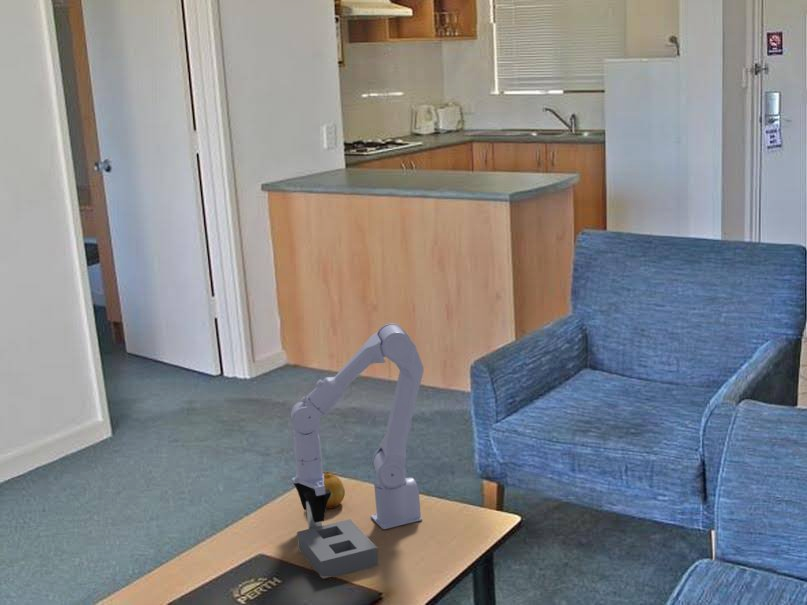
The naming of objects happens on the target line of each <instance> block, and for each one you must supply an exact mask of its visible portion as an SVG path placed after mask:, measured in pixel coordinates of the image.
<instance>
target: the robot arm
mask: <svg viewBox="0 0 807 605" xmlns="http://www.w3.org/2000/svg"><path fill="white" fill-rule="evenodd" d="M417 349H418V348H417V345H416V344H415V343H414V342H413V341H412V340H411V337H410V336H409V334H408V333H407V332H406V331H405V330H404V329H403V328H402V326H400V325H398V324H397V323H386V324H383V326H381V327H380V328H379V329H378V331H377V332H375V333H373V334H372V335H371V336H370V337H369V338H368V339H367V341H365V342H364V344H362V346H361V347H360V348H359V349H358V350H357V351H356V353H355V354H353V356H352V357H351V358H350V359H349V360H348V361H347V363H346V364H344V366H342V368H341V369H340V370H339V371H338V372H337V374H335V376H328V377H325V378H323V379H318V380H317V382H316V386H315V387H314V388H313V389H312V390H311V391H310V392H309V393H308V394H307V395H306V397H305V396H302V397H301V398H300V401H299V402H296V403H295V404H294V405H293V406H292V408H291V411H290V414H289V417H290V419H291V424H292V426H293V430H292V434H293V439H292V440H293V449H294V460H295V469H296V470H295V471H296V472H295V473H296V475H295V476H294V477H292V478H291V482H292V484H293V485H294V487H295V489H296V491H297V493H298V497H299V501H300V503H301V506H302V509H303V511H307V508H306V501H308V503H309V505H310V509H311V513H312V517H313V520H314V522H315V523H316V522H321V521H322V522H324V521H325V516H326V509H327V508H326V505H327V502H328V499H329V497H330V495H331V491H330V490H329V489H327V490H325V486H324V473H323V472H324V469H323V460H322V459H323V458H322V450H321V449H322V448H321V447H322V446H321V437H320V434H319V426H320V423H321V418H323V417H325V416H326V415H327V414H328V413H329V412H330V411H331V410H332V409H333V408H334V407H335V406H336V405H337V404H338V403H339V402H340V401H341V400H342V399H344V397H345V389H346V387H348V386H349V385H350V384H351V383H352V382H353V381H354V380H355V379H356V378H357V377H358V376H360V375H361V373H363V372H364V371H365V370H366V369H368V368H369V367H370V366H371V365H372V364H384V363H387V362H386V360H385V358H387V359H388V360H389V361H390V362H392V363H394V364H395V365H396V367H397V368H398V370H399V374H398V377H397V381H396V382H397V383H396V387H395V390H394V393H393V400H392V404H391V408H390V412H389V416H388V420H387V425H386V429H385V432H384V437H383V438H382V440H381V441H380V444H379V447H378V449H377V450H376V451H375V453H374V455H373V456H372V459H371V460H372V466H373V468H374V470H375V472H376V476H375V479H374V480H373V485H374V496H375V497H374V498H375V510H376V513H373V514H370V518H371V519H372V520H373V521H374V522H375V523H376V524H377V525H378V526H379V527H380V528H381V529H382V530H386V529H387V530H388V529H391V528H395V527H400V526H404V525H407V524H411V523H415V522H419V521H422V520H423V517H422V514H421V502H420V501H421V500H420V492H419V490H420V489H419V487H418V483H417V481H416V480H415V479H414V478H413V477H407V469H406V459H407V454H406V453H407V450H406V449H407V448H406V446H407V441H408V439H409V438H408V436H409V433H410V428H411V424H412V419H413V417H414V412H415V408H416V403H417V399H418V395H419V391H420V386H421V384H422V383H421V382H422V378H423V375H424V365H423V363H422V360H421V357H420V355H419V352H418V350H417Z"/></svg>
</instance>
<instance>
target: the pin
mask: <svg viewBox="0 0 807 605" xmlns="http://www.w3.org/2000/svg"><path fill="white" fill-rule="evenodd" d="M306 508H307V510H306V516H307V526H308V528H307V529H311V528H315V527H319V526H323V524H322V522H323V521H321V522H316V523H315V522H314V520H313V517H312V513H311V509H310V505H309V503H308V501H306Z"/></svg>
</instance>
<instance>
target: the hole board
mask: <svg viewBox="0 0 807 605" xmlns="http://www.w3.org/2000/svg"><path fill="white" fill-rule="evenodd" d="M296 533H297V543H298V550H299V552H301V554H302V555H303V556H304V558H305V559H306V560H307V562H308V563H309V564H310V566H311V567H312V568H313V570H314V571H315V572H316V571H317V572H318V573H320V574H321V575H322V576H331V577H333V578H336V577H340V576H344V575H348V574H352V573H355V572H359V571H363V570H367V569H371V568H374V567H378V566H379V556H378V554H379V553H378V547H377V545H375V543H373V542H372V540H370V538H369V537H368V536H367V534H365V533H364V532H363V531H362V530H361V529H360V528H359V527H358V526H357V525H356V523H354V521H353V520H351V519H350V518H349V519H345V520H341V521H336V522H332V523H327V524H324V525H323V524H322V526H319V527H315V528H311V529H309V528H307V529H303V530H299V531H297V532H296ZM317 572H316V573H317ZM318 573H317V574H318Z"/></svg>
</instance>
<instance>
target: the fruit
mask: <svg viewBox="0 0 807 605" xmlns="http://www.w3.org/2000/svg"><path fill="white" fill-rule="evenodd" d="M323 473H324V486H325V490H327V489H329V490H330V491H331V495H330V497H329V499H328V502H327V505H326V509H332V508H335V507H337V506H339V505H340V504H341V503H342V502H343V500H344V498H345V496H346V494H345V492H346V489H345V485H344V484H343V481H342V480H341V479H340V478H339V477H337V476H336V475H333V473H331V472H329V471H323Z"/></svg>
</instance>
